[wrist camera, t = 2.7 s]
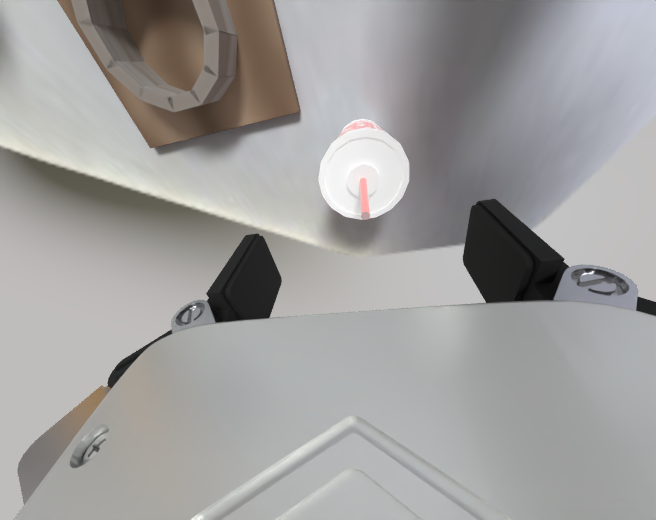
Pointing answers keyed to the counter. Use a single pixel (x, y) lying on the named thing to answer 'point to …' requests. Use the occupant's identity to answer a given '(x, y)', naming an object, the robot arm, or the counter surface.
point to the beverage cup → (363, 171)
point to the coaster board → (189, 62)
